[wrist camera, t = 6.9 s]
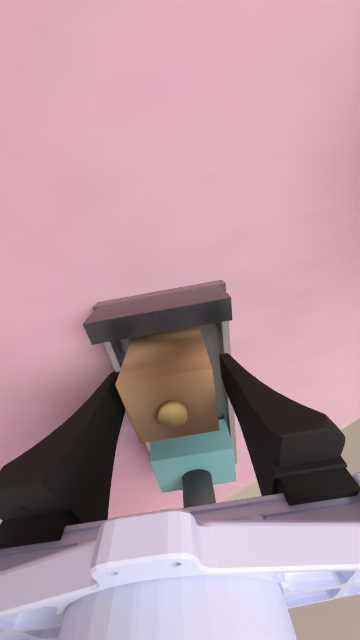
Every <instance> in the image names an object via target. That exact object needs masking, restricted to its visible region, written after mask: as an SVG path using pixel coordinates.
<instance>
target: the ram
mask: <svg viewBox="0 0 360 640" xmlns="http://www.w3.org/2000/svg"><path fill="white" fill-rule="evenodd" d="M218 421H219V430H220V431H214V432H207V433H201V434H195V435H189V436H183V437H176V438H170V439H164V440H158V441H152V442H151V447H150V459H149V462H150V465H151V467H152V469H153V472H154V474H155V476H156V479H157V481H158V483H159V486H160V488H161V490H162V492H169V491H176V490H182V489H183V503H184V508H188V507H195V506H201V505H208V504H214V503H216V500H215V494H214V488H213V485H215V484H221V483H228V482H234V481H236V472H235V458H234V447H233V444H232V441H231V437H230V434H229V431H228V427H227V424H226V421H225V419H221V420H218Z"/></svg>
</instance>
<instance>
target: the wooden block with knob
mask: <svg viewBox="0 0 360 640" xmlns="http://www.w3.org/2000/svg"><path fill="white" fill-rule="evenodd" d="M115 385H116V388H117V390H118V392H119V395H120V397H121V399H122V401H123V404H124V406H125V408H126V411H127V413H128V415H129V418H130V420H131V422H132V424H133V427H134V429H135V431H136V434H137V436H138V438H139V441H140V443H145V442H152V441H158V440H164V439H170V438H176V437H183V436H189V435H195V434H201V433H207V432H214V431H220V430H219V421H218V413H217V404H216V396H215V387H214V379H213V371H212V366H211V363H210V360H209V357H208V353H207V350H206V347H205V344H204V341H203V338H202V334H201V331H200V328H199V326H196V327H190V328H184V329H179V330H173V331H167V332H161V333H156V334H150V335H144V336H139V337H133V338H131V341H130V344H129V347H128V350H127V353H126V355H125V358H124V361H123V364H122V367H121V370H120V373H119V375H118V378H117V381H116V384H115Z"/></svg>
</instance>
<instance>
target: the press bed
mask: <svg viewBox="0 0 360 640" xmlns="http://www.w3.org/2000/svg"><path fill="white" fill-rule="evenodd" d="M93 308H94V313H93V314H92V315H91V316H90V317H89V318H88V319H87V320H86V321H85V322H84V323H83V326H84V328H85V330H86V332H87V334H88V337H89V339H90V341H91V343H92V345H93V344H99V343H104V345H105V348H106V350H107V352H108V355H109V357H110V360H111V362H112V364H113V367H114V369H115V372H119V371H120V370H121V367H122V364H123V361H124V358H125V355H126V353H127V350H128V347H129V344H130V341H131V338H133V337H139V336H144V335H150V334H156V333H161V332H167V331H173V330H179V329H184V328H190V327H196V326H199V328H200V331H201V334H202V338H203V341H204V344H205V347H206V350H207V353H208V357H209V360H210V363H211V366H212V371H213V379H214V387H215V396H216V404H217V413H218V420H221V419H225V421H226V424H227V427H228V431H229V434H230V437H231V441H232V444H233V447H234V458H235V463H237V453H236V437H235V420H234V409H233V407H232V405H231V402H230V400H229V398H228V395H227V393H226V390H225V388H224V384H223V381H222V378H221V370H220V359H219V354H224V353H228V354H230V355H231V353H230V337H229V321H230V320H232V307H231V297H230V296H229V295H228V294H227V293H226V284H225V282H224V281H222V280H219V281H214V282H208V283H203V284H197V285H191V286H186V287H180V288H175V289H169V290H164V291H158V292H153V293H147V294H142V295H136V296H131V297H125V298H120V299H114V300H109V301H103V302H98V303H97V304H96V305H95V306H94V307H93ZM145 444H146V446H147V448H148V451H149V453H150V447H151V442H145Z"/></svg>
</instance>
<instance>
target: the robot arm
mask: <svg viewBox="0 0 360 640" xmlns="http://www.w3.org/2000/svg"><path fill="white" fill-rule="evenodd" d="M219 359H220V370H221V378H222V381H223V384H224V388H225V390H226V393H227V395H228V398H229V400H230V402H231V405H232V407H233V409H234V412H235V414H236V416H237V418H238V421H239V424H240V426H241V429H242V433H243V436H244V439H245V442H246V445H247V448H248V451H249V454H250V458H251V461H252V464H253V467H254V471H255V474H256V477H257V481H258V484H259V488H260V491H261V494H262V496H260V497H254V498H247V499H241V500H234V501H228V502H221V503H214V504H208V505H201V506H195V507H188V508H181V509H167V510H161V511H154V512H147V513H141V514H134V515H128V516H121V517H116V518H112V519H109V520H107V518H108V507H109V496H110V487H111V479H112V471H113V464H114V458H115V451H116V445H117V441H118V436H119V433H120V429H121V425H122V421H123V417H124V413H125V409H126V408H125V406H124V404H123V401H122V399H121V397H120V395H119V392H118V390H117V388H116V385H115V384H116V381H117V378H118V375H119V373H120V371H119V372H113V373H111V374H110V375H109V376H108V377H107V378H106V380H105V381H104V382H103V383H102V384H101V385H100V387H99V388H98V389H97V390H96V391H95V392H94V393H93V395H92V396H91V397H90V398H89V399H88V400H87V401H86V402H85V403H84V404H83V405H82V406H81V407H80V408H79V409H78V410H77V411H76V412H75V413H74V414H73V415H72V416H71V417H70V418H69V419H68V420H67V421H65V422H64V423H63V424H62V425H61V426H59V427H58V428H57V429H56V430H55V431H53V432H52V433H51V434H50V435H48V436H47V437H46V438H44V439H43V440H42V441H40V442H39V443H38V444H36V445H35V446H34V447H32V448H31V449H29V450H28V451H26V452H25V453H23V454H22V455H20V456H19V457H17V458H16V459H14V460H13V461H11V462H10V463H8V464H6V465H5V466H3V468H2V469H1V470H0V640H297V638H296V635H295V632H294V629H293V625H292V622H291V619H290V616H289V613H288V609H289V608H294V607H299V606H303V605H308V604H313V603H318V602H323V601H328V600H332V599H337V598H342V597H347V596H352V595H356V594H360V472H358V473H355V474H354V475H352V476H351V475H350V473H349V472H348V470H347V469H346V467H347V465H346V463H345V461H344V460H343V459H342V457H341V453H342V450H343V447H344V444H345V436H344V434H343V433H342V432H341V431H340V429H339V428H338V427H337V426H336V425H335V424H334V423H333V422H332V421H331V420H330V419H329V418H328V417H327V416H326V415H325V414H323V413H321V412H318V411H316V410H313V409H311V408H308V407H306V406H303V405H301V404H299V403H297V402H295V401H293V400H291V399H289V398H287V397H285V396H283V395H281V394H280V393H278V392H276V391H274V390H273V389H271V388H269V387H268V386H266V385H265V384H263V383H262V382H261V381H259V380H258V379H257V378H255V377H254V376H253V375H251V374H250V373H249V372H248V371H247V370H245V369H244V368H243V367H242V366H241V365H240V364H239V363H238V362H237V361H236V360H235V359H234V358H233V357H232V356H231V355H230V354H228V353H224V354H219Z"/></svg>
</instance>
